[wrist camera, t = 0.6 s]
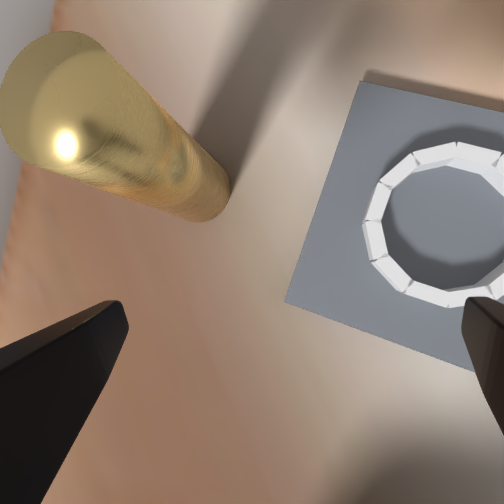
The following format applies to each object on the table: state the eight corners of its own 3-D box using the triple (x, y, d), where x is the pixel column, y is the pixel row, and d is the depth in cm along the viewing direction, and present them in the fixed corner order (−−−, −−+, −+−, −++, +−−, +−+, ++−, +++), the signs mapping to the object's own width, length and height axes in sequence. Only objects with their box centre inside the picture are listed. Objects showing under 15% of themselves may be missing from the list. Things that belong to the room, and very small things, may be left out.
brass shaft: (217, 230, 23) (91, 184, 11) (160, 211, 24) (-19, 147, 11) (239, 168, 23) (137, 46, 10) (181, 151, 24) (22, 19, 11)
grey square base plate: (523, 387, 19) (555, 406, 17) (286, 300, 22) (281, 304, 19) (609, 148, 19) (656, 128, 16) (357, 90, 22) (362, 66, 19)
